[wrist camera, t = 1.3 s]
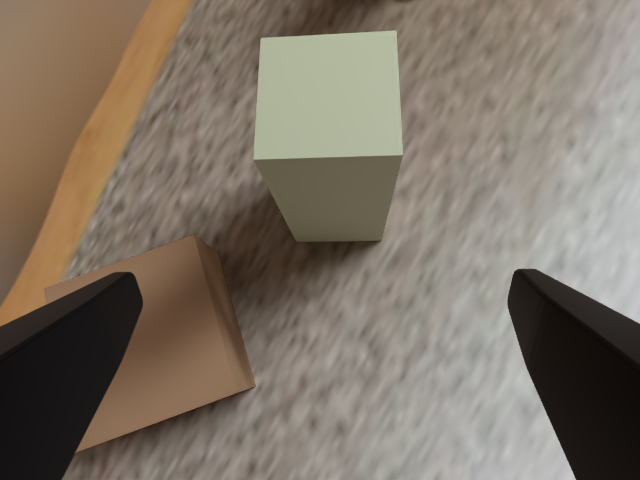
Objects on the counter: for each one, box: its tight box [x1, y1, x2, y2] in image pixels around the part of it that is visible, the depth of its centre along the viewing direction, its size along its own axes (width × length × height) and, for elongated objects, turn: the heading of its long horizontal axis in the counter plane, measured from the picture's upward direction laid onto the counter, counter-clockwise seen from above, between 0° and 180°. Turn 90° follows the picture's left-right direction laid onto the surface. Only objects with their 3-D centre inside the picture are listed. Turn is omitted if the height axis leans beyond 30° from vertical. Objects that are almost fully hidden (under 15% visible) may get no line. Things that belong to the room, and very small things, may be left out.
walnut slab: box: [44, 235, 256, 452], centre depth 21 cm, size 8×8×4 cm
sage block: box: [254, 31, 403, 242], centre depth 19 cm, size 5×5×10 cm
